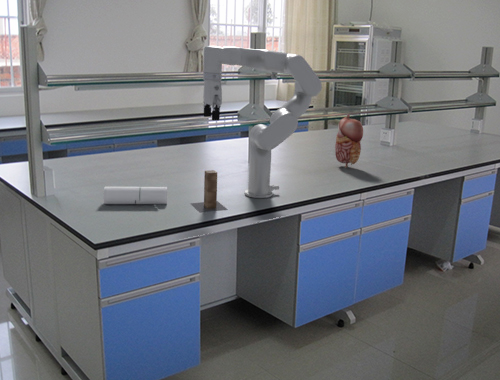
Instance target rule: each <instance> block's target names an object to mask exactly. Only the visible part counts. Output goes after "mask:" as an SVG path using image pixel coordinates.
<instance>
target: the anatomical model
mask: <svg viewBox="0 0 500 380" xmlns="http://www.w3.org/2000/svg"><path fill="white" fill-rule="evenodd" d="M350 116H351V115H350V113H347V114H346V116H345V117H343V118H341V119H340V120H339V122H338V126H337V127H338V128H337V129H338V130H337V134H336V138H335V139H336V140H335V146H334V148H335V149H334V150H335V151H334V153H335V158H336V160H337V161H338V163H340V164H345V166H344V168H348V166H349V164H350V165H351V166H352V165H355V164H356V163H357V162H358V160H359V159H360V156H361V150H362V143H361V141H362V139H363V137H364V127H363V123H362V122H361V121H360V120H358V119H355V118H350Z"/></svg>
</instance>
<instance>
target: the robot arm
mask: <svg viewBox="0 0 500 380" xmlns="http://www.w3.org/2000/svg"><path fill="white" fill-rule="evenodd" d="M223 65H227V66H240V67H246V68H252V69H254V70H257V71H264V72H270V73H271V72H272V73H278V74H286V75H291V77H293V79H294V80H295V82H294V92H293V95H292V97H290V99H289V100H288V101H287V102H285V103H284V104H283V105H282V106H281V107H280V108H278V109H277V110H275V111H274V112H273V113H272V114H271V115H270V118H269V123H270V124H269V125H266V124H262V123H258V124H255V125H254V126H253V127H252V128H251V129H250V131H249V135H248V136H249V138H248V141H249V160H248V161H249V162H248V163H249V165H248V166H249V167H248V182H247V183H248V184H247V186H248V187H247V189H245V190H244V195H245V196H246V197H249V198H253V199H268V198H271V197H272V196H273V191H279V190H280V185H275V184H271V165H272V150H273V149H275V148H277V147H278V146H279V145H281V144H282V143H283V142H284V141H286V140H287V139H288V138H289V137H290V136H292V135H293V134H294V133H295V132H296V130H297V128H298V125H299V120H298V119H299V118H300V117H301V116H302V115H304V114H305V113H306V112H307V111H308V109H309V108H310V106H311V103H312V98H313V97H316V96H318V95H319V94H320V93H321V92H322V88H323V85H322V82H321V80H320V78H319V76H318V75H317V73H316V72H315V71H314V69H313V68H312V67H311V65H310V64H309V62H307V60H306V59H305V57H303V56H302V55H301V54H297V53H290V52H289V53H288V52H283V51H274V50H268V49H258V48H257V49H254V48H246V47H245V48H244V47H238V46H233V45H226V46H223V47H221V46H219V45H218V46H217V45H206V46H204V48H203V69H202V71H203V73H202V75H203V76H202V77H203V78H202V80H203V81H204V85H203V117H204V118H210V117H211V121H220V120H221V119H220V117H221V116H220V114H221V113H220V111H221V106H222V104H223V101H222V100H223V96H222V95H223V90H222V77H223V74H222V71H223V70H222V69H223Z"/></svg>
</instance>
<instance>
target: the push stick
mask: <svg viewBox="0 0 500 380" xmlns="http://www.w3.org/2000/svg"><path fill="white" fill-rule="evenodd" d="M203 179H204V181H203V183H204V184H203V185H204V186H203V187H204V188H203V202H204V207H205V208H206V209H214V208H216V205H217V201H218V200H217V198H218V171H216V170H214V169H211V170H204V178H203Z"/></svg>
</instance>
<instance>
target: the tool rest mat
mask: <svg viewBox="0 0 500 380" xmlns="http://www.w3.org/2000/svg"><path fill="white" fill-rule="evenodd" d="M189 204H190V205H191V206H192V207H193V208H194V209H195V210H197V212H199V213H208V212H209V213H210V212H211V213H212V212H219V211H228V208H227V207H225V206H224V205H223V204H222V203H220V202H219V201H218V200H217V205H216V208H214V209H206V208H205V207H204V201H203V202H202V201H201V202H193V203H189Z"/></svg>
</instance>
